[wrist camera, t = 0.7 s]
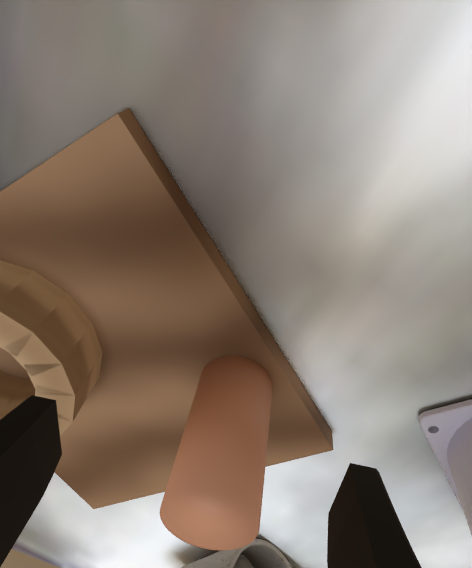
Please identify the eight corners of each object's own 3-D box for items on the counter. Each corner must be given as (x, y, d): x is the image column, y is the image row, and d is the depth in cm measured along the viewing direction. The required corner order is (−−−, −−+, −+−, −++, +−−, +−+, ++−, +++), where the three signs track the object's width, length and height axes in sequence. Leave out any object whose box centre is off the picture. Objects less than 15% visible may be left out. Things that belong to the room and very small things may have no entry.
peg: (285, 399, 22) (277, 542, 16) (223, 418, 23) (193, 556, 17) (250, 346, 20) (226, 480, 14) (186, 369, 21) (140, 501, 15)
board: (332, 431, 24) (333, 450, 23) (100, 492, 30) (93, 509, 29) (129, 108, 17) (117, 113, 16) (-122, 274, 23) (-142, 286, 22)
